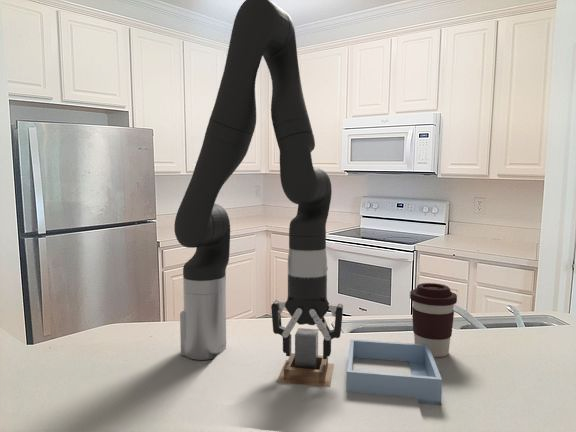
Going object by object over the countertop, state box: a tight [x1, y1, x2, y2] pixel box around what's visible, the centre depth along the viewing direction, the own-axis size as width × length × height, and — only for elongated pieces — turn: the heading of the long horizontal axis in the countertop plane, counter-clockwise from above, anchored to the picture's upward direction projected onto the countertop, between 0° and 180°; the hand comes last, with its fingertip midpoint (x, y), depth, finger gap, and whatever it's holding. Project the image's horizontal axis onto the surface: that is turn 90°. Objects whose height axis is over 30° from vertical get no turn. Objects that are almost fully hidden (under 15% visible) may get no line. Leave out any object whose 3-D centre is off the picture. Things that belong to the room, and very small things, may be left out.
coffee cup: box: [409, 282, 458, 358], centre depth 94 cm, size 10×10×15 cm
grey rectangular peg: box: [294, 327, 319, 370], centre depth 81 cm, size 4×4×8 cm
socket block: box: [275, 352, 335, 388], centre depth 81 cm, size 10×10×3 cm
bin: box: [346, 338, 443, 406], centre depth 80 cm, size 16×16×4 cm
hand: (307, 355), depth 81 cm, fingers open, 6 cm apart
